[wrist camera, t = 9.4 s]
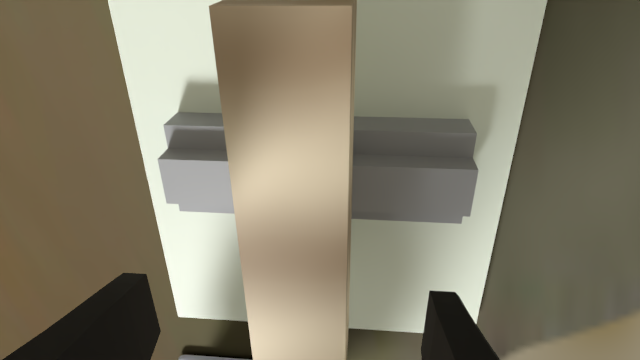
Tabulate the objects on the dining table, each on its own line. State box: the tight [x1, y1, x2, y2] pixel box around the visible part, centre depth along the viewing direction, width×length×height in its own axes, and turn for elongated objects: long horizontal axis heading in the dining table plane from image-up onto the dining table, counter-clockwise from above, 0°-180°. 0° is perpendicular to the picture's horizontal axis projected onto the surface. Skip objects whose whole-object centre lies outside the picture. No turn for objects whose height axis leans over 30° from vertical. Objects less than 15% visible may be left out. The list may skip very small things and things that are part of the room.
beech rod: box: [209, 0, 357, 360], centre depth 15 cm, size 14×3×5 cm, turn 1°
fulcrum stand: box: [108, 0, 547, 333], centre depth 18 cm, size 20×16×4 cm
